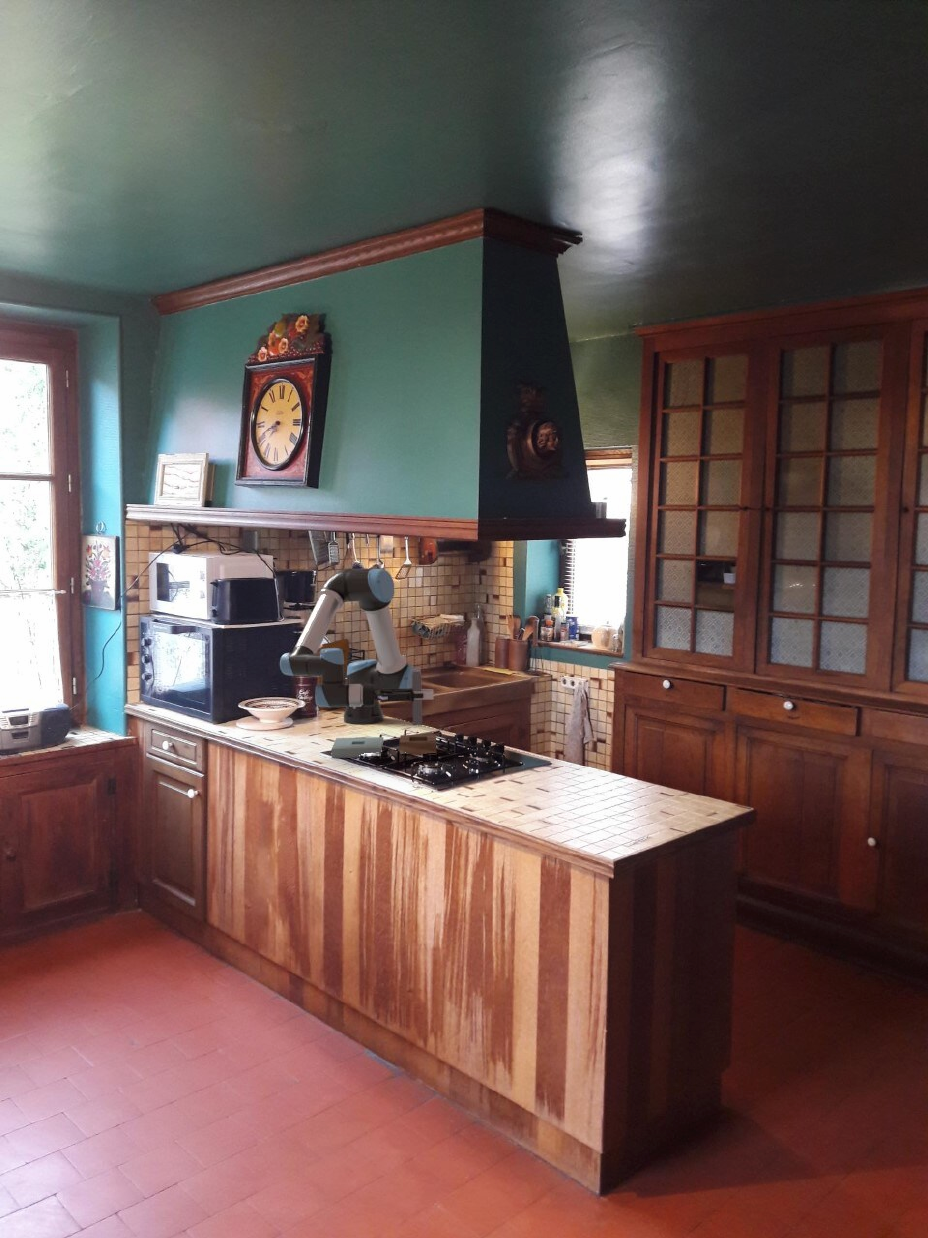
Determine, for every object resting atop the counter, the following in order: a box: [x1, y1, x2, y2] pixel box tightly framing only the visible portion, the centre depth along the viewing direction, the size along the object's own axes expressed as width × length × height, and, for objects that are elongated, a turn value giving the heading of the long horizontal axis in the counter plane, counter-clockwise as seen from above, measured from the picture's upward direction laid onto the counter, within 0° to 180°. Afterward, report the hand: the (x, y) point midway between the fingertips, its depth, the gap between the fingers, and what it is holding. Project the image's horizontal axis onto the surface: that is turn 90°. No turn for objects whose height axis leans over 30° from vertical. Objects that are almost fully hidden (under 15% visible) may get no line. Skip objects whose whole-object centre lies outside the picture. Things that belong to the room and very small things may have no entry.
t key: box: [412, 666, 423, 726], centre depth 330 cm, size 10×3×18 cm, turn 2°
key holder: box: [399, 734, 437, 754], centre depth 332 cm, size 12×12×4 cm
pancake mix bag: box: [317, 638, 350, 711], centre depth 408 cm, size 7×19×28 cm, turn 142°
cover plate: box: [331, 736, 385, 759], centre depth 332 cm, size 16×16×3 cm
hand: (433, 694), depth 330 cm, fingers closed on t key, 3 cm apart
